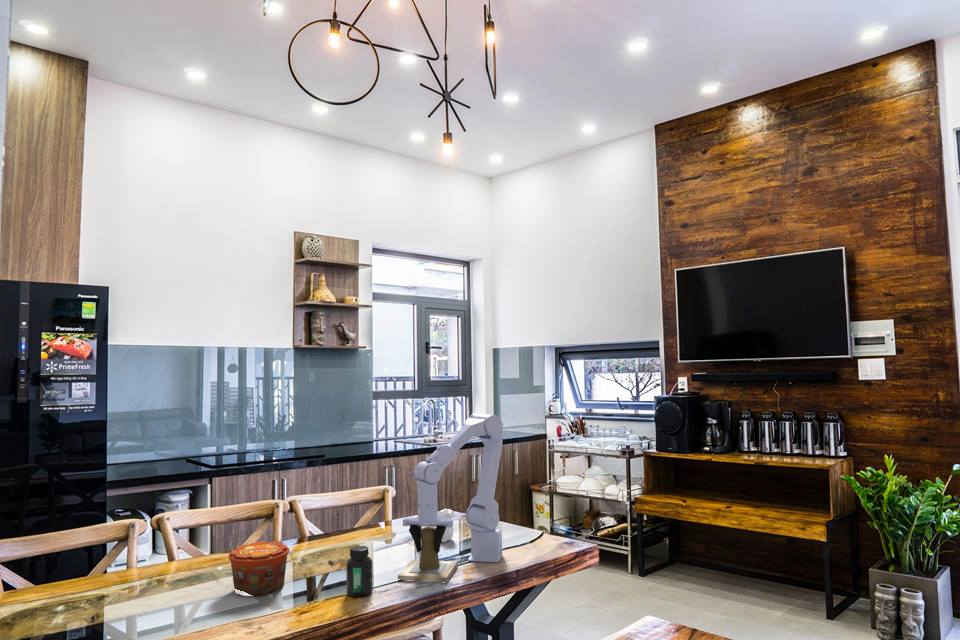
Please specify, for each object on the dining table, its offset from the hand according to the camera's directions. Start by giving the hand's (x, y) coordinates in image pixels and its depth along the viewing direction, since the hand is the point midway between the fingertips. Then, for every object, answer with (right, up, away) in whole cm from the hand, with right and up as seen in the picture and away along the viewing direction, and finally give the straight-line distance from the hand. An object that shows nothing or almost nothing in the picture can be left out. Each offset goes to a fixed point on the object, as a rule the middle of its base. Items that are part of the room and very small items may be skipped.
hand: (428, 551), depth 191 cm
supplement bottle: (-17, -6, -15) cm, 24 cm away
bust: (+3, -8, +34) cm, 35 cm away
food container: (-46, -7, -10) cm, 47 cm away
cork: (0, -5, +1) cm, 5 cm away
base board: (0, -6, 0) cm, 6 cm away
